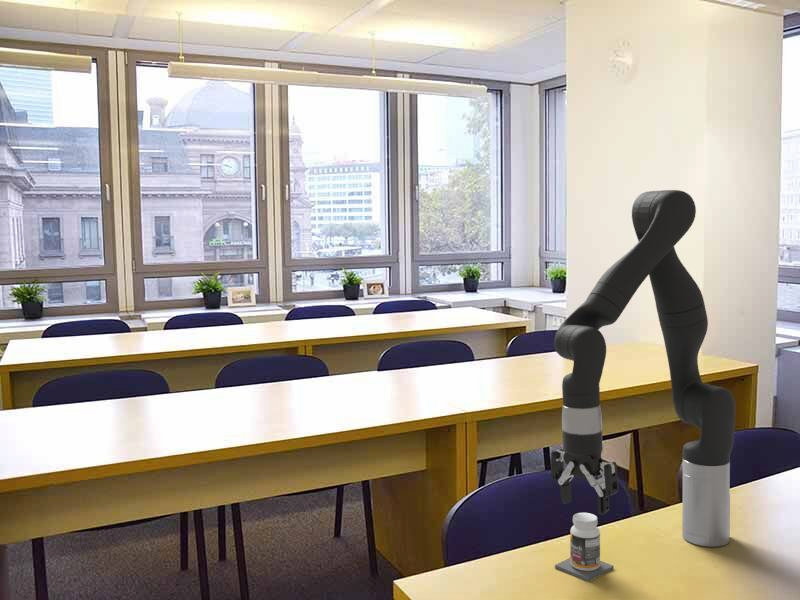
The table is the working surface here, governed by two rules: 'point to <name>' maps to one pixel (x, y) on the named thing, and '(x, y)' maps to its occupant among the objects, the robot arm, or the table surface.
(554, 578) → the table surface
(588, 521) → the pill bottle
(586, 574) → the coaster
